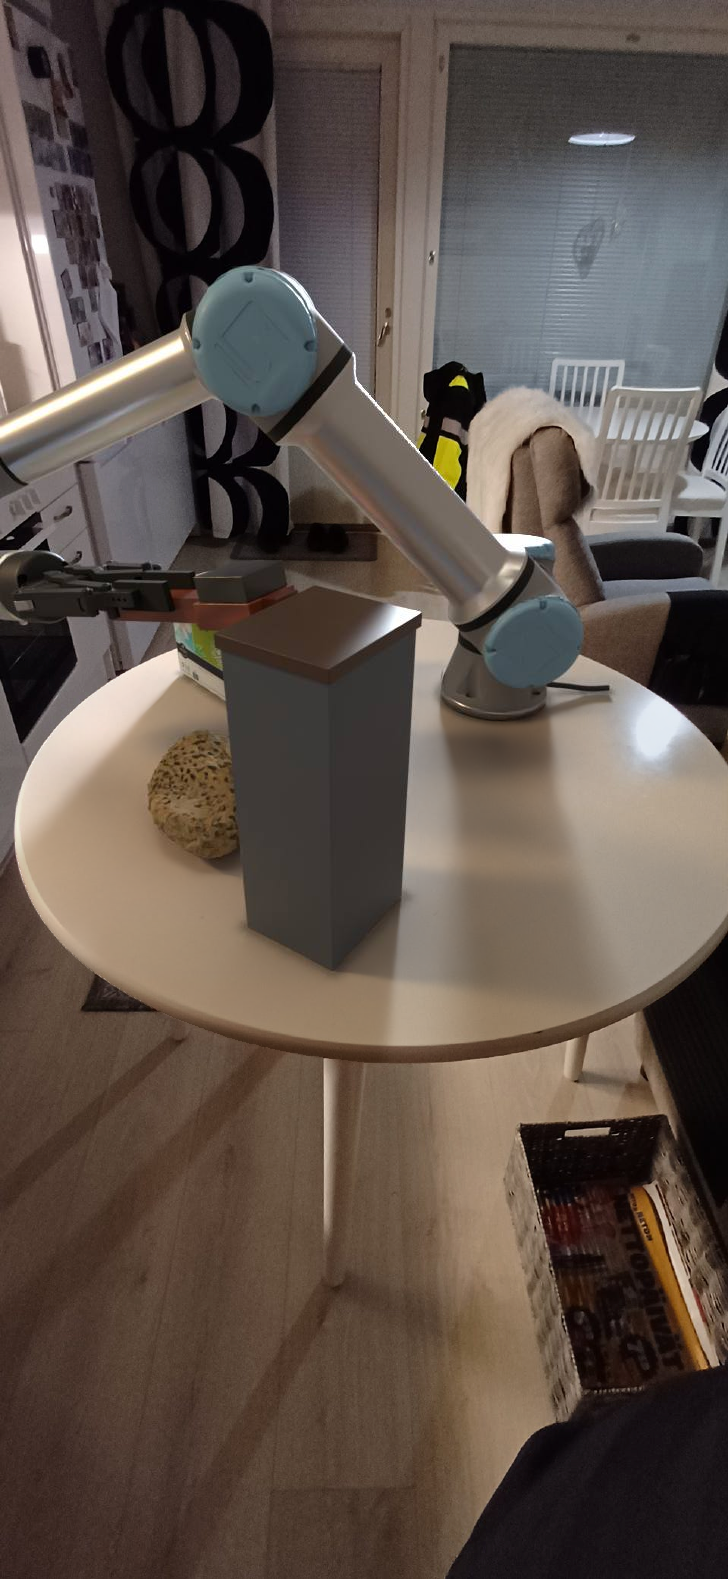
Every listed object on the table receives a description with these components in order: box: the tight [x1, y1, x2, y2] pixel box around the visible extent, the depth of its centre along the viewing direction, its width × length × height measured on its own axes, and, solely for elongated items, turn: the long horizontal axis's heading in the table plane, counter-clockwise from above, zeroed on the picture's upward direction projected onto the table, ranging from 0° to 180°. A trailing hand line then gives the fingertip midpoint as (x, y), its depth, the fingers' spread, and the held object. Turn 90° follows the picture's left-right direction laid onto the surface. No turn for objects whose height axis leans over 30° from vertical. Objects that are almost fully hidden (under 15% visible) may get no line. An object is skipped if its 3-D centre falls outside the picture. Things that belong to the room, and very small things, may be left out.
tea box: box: [173, 570, 226, 703], centre depth 113 cm, size 15×10×15 cm, turn 42°
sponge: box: [146, 729, 240, 859], centre depth 87 cm, size 13×8×20 cm
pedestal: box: [214, 585, 423, 972], centre depth 68 cm, size 11×13×30 cm
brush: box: [110, 559, 299, 631], centre depth 72 cm, size 22×6×5 cm, turn 58°
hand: (181, 591), depth 72 cm, fingers closed on brush, 3 cm apart
